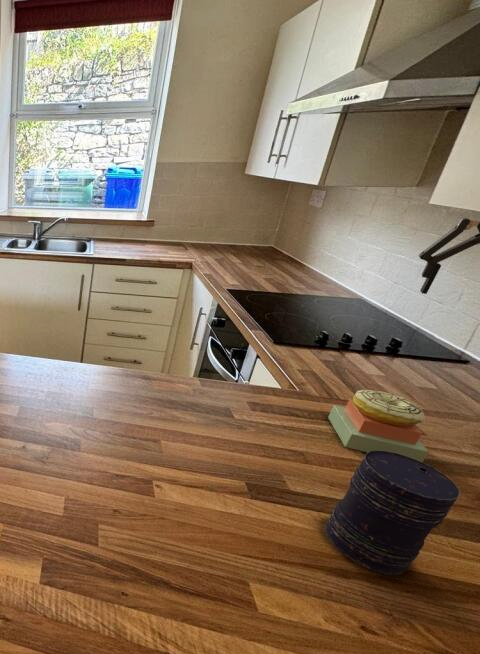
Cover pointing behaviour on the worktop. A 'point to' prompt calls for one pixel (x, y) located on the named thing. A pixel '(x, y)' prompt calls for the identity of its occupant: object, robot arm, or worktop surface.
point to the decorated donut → (388, 408)
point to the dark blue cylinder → (390, 511)
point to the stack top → (382, 427)
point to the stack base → (371, 438)
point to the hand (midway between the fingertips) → (467, 299)
